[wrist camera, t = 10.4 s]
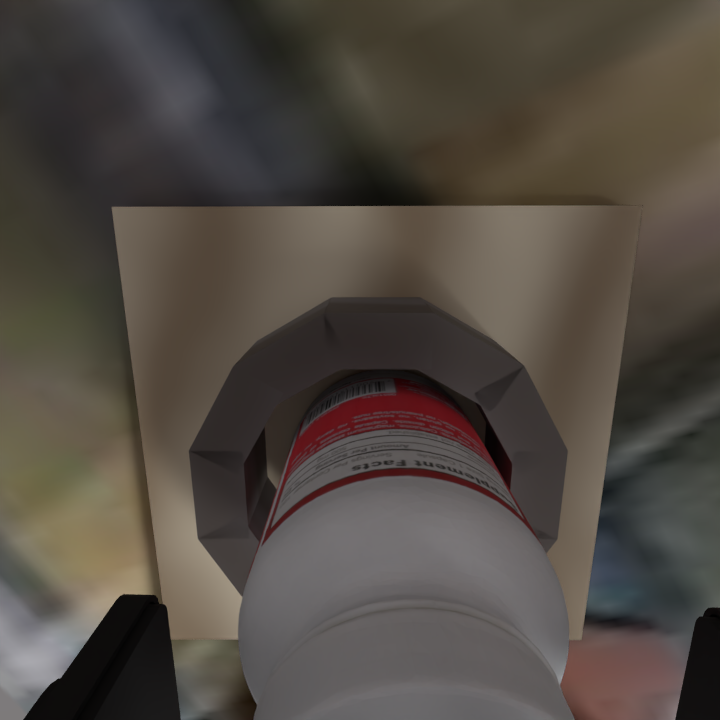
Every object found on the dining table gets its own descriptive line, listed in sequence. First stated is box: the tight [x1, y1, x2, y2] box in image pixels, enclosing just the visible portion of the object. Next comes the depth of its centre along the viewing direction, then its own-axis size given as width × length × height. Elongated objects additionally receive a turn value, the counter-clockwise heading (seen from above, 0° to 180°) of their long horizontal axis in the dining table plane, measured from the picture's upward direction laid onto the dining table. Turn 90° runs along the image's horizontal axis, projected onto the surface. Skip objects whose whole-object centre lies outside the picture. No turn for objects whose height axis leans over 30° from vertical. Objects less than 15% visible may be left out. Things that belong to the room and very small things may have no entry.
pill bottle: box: [238, 370, 575, 720], centre depth 11 cm, size 6×6×11 cm
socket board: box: [112, 205, 643, 640], centre depth 16 cm, size 16×16×4 cm
